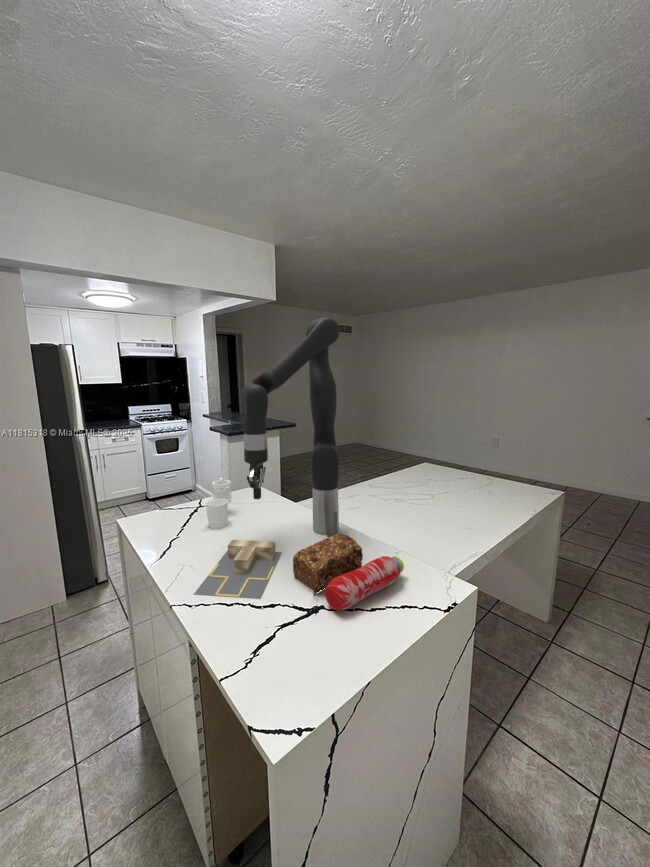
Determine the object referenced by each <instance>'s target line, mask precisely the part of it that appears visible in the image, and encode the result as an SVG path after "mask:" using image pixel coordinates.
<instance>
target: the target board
mask: <svg viewBox="0 0 650 867" xmlns="http://www.w3.org/2000/svg"><path fill="white" fill-rule="evenodd" d="M282 554H283V551H275V555H274V557H273V559H272V560H266V559H256V561H255V562H254V564H253V566H252V567H251V569H250V571H249V573H235V571H234V559H235V558H228V549H227V550H226V551H225V553H224V554H223V555H222V557H221V558H220V559H219V561H218V562H217V563H216V564H215V566H214V567H213V568H212V570H211V571H210V572H209V574H208V575H207V576H206V577H205V579H204V580H203V581H202V583H201V584H200V585H199V586H198V588H197V589H196V590H195V592H194V593H192V594H193V596H206V597H207V596H210V597H221V598H222V597H224V598H235V599H236V598H238V599H239V598H240V599H255V600H261V599H262V598H263V595H264V592H266V591H265V590H266V588H267V587H268V585H269V582H270V580H271V578H272V576H273V574H274V571H275V570H276V567H277V564H278V563H279V561H280V558H281V556H282Z"/></svg>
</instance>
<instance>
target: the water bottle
mask: <svg viewBox="0 0 650 867" xmlns="http://www.w3.org/2000/svg"><path fill="white" fill-rule="evenodd" d="M404 567H405V565H404V562H403V560H402V559H401V558H400V557H398V556H392V557H390V556H388V555H387V556H386V555H384V556H383V555H382V556H381V557H376V558H374V559H372V560H370V561H369V562H367V563H365V564H364V565H361V567H360V568H358V569H355V568H351V567H347V566H346V567H345V568H344V569H342V570H341V571H340V572H338V573H337V574H336V575H335V576H338V577H336V578H334V579H332V580H331V582H330V583H329V584H328V585H327V586H326V588H325V590H324V595H325V599H326V601H327V604H328V605H329V607H330V608H331V609H332V610H335V611H346V610H348V609H350V608H352V607H354V606H355V605H357V604H358V603H359V602H361V601H363V600H364V599H366V598H367V597H369V596H371V595H373V594H375V593H378V592H380V591H383V590H385V589H386V588H388V587H390V586H391V585H392V584H394V583H395V582H396V581H397V580H398V579H399V576H400V574H401V573H402V572H403V571H404V569H405V568H404Z"/></svg>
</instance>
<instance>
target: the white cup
mask: <svg viewBox="0 0 650 867" xmlns="http://www.w3.org/2000/svg"><path fill="white" fill-rule="evenodd" d="M205 507H206V508H205V509H206V515H207V522H208V528H209V529H213V530H215V529H216V530H217V529H223V528H226V527H227V526H228V522H229V503H228V500H226V499H211V500H208V501H206V502H205Z"/></svg>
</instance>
